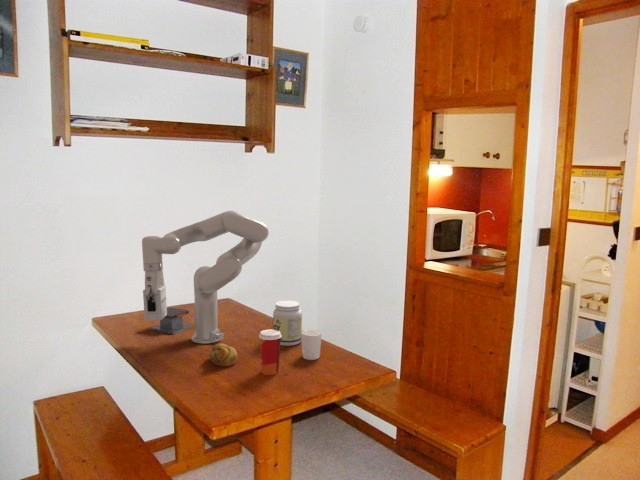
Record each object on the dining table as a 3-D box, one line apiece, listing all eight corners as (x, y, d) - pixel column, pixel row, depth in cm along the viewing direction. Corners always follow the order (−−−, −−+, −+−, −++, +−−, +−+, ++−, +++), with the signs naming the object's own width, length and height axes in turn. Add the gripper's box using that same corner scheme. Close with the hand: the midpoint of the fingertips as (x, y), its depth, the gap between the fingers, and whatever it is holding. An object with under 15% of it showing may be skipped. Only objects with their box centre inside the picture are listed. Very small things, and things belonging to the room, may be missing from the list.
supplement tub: (268, 339, 226) (268, 301, 224) (294, 335, 231) (294, 298, 229) (279, 348, 215) (280, 308, 213) (306, 344, 221) (307, 305, 218)
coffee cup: (269, 366, 196) (270, 327, 194) (286, 371, 191) (286, 332, 189) (253, 372, 189) (253, 332, 187) (269, 378, 184) (269, 337, 182)
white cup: (303, 361, 201) (304, 336, 200) (298, 354, 209) (299, 330, 207) (323, 359, 203) (323, 334, 202) (318, 352, 211) (318, 328, 210)
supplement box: (162, 320, 213) (160, 289, 211) (144, 320, 213) (142, 290, 211) (167, 314, 220) (166, 285, 218) (150, 315, 220) (148, 285, 219)
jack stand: (192, 327, 241) (191, 310, 240) (172, 334, 230) (172, 317, 229) (170, 322, 247) (170, 306, 246) (150, 330, 235) (149, 313, 234)
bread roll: (204, 359, 202) (203, 339, 201) (227, 354, 207) (227, 335, 206) (217, 370, 191) (217, 349, 190) (241, 365, 196) (241, 344, 195)
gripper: (154, 270, 205) (156, 314, 207) (169, 262, 222) (171, 302, 224) (135, 270, 205) (138, 314, 208) (152, 262, 222) (154, 302, 225)
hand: (155, 308), depth 216 cm, fingers closed on supplement box, 7 cm apart
